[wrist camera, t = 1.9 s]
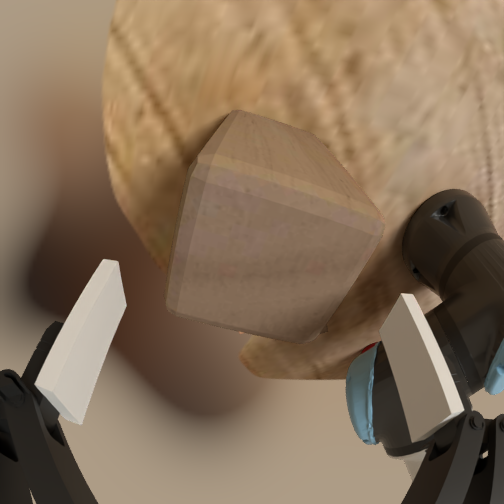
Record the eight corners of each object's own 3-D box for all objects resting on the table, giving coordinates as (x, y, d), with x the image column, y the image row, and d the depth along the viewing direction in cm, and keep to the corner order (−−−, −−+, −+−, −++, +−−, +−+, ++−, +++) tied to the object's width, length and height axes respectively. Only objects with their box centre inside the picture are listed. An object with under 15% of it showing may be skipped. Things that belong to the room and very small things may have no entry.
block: (288, 212, 34) (313, 352, 18) (207, 188, 33) (158, 318, 16) (320, 135, 29) (398, 224, 13) (231, 106, 28) (187, 153, 11)
